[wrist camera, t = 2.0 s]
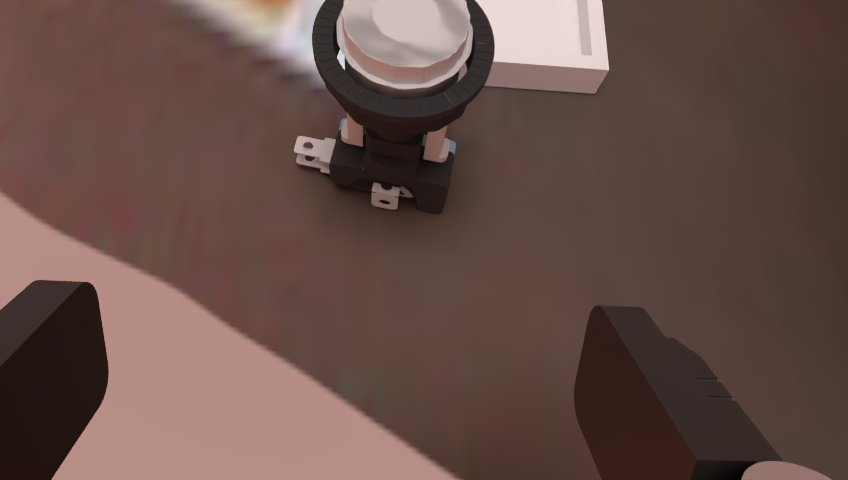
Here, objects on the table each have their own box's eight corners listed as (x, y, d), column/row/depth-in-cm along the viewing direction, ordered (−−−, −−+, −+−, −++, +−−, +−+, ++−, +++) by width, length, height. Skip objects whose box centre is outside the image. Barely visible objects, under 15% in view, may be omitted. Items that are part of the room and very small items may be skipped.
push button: (283, 216, 25) (236, 62, 16) (315, 107, 27) (289, -84, 18) (442, 248, 25) (487, 114, 16) (463, 138, 27) (512, -38, 18)
